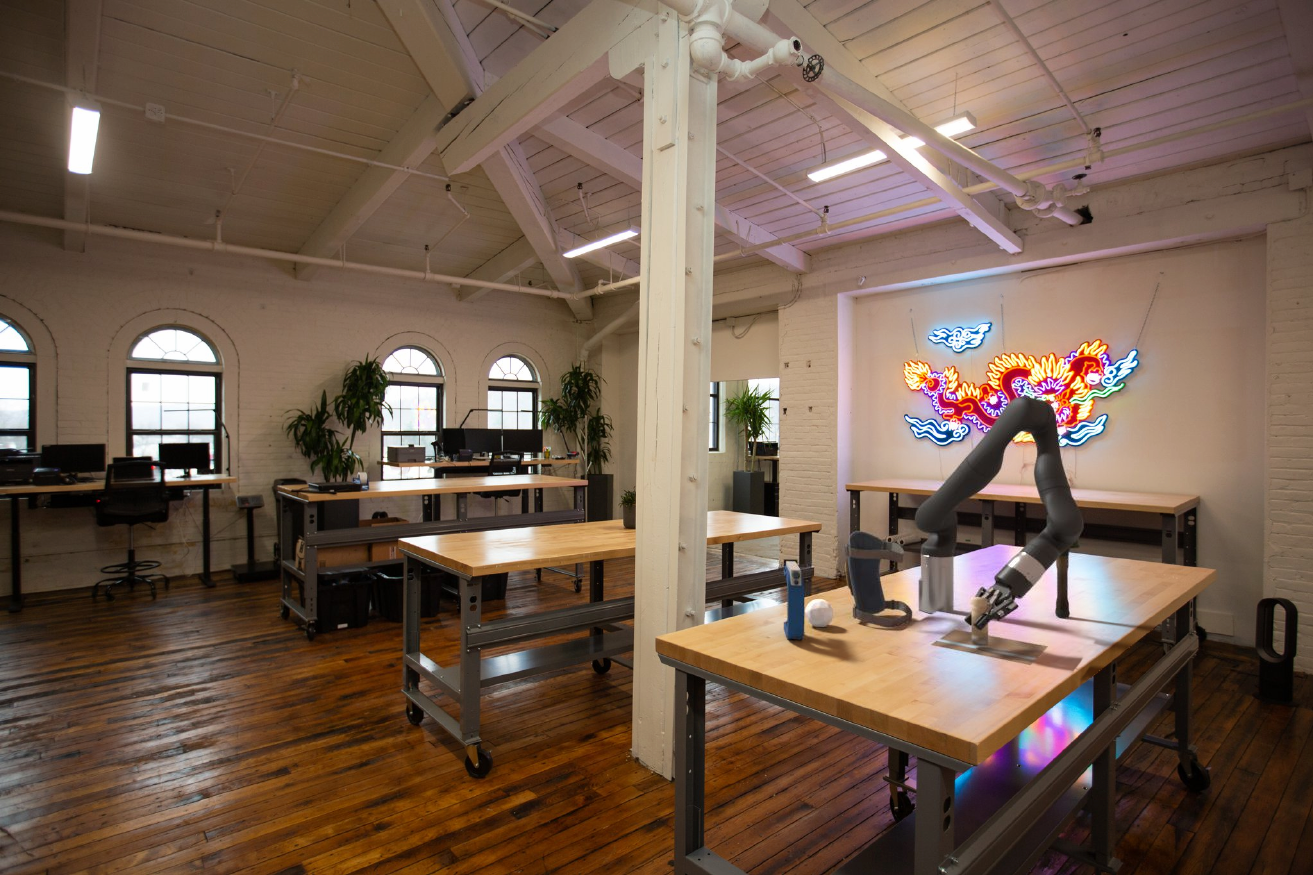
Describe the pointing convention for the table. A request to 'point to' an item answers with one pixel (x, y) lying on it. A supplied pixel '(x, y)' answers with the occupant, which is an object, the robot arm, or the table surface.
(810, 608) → the ball
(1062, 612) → the potato masher grenade
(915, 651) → the table surface
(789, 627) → the handheld scanner
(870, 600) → the knee pad
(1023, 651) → the board
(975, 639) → the tan round-topped cylinder
